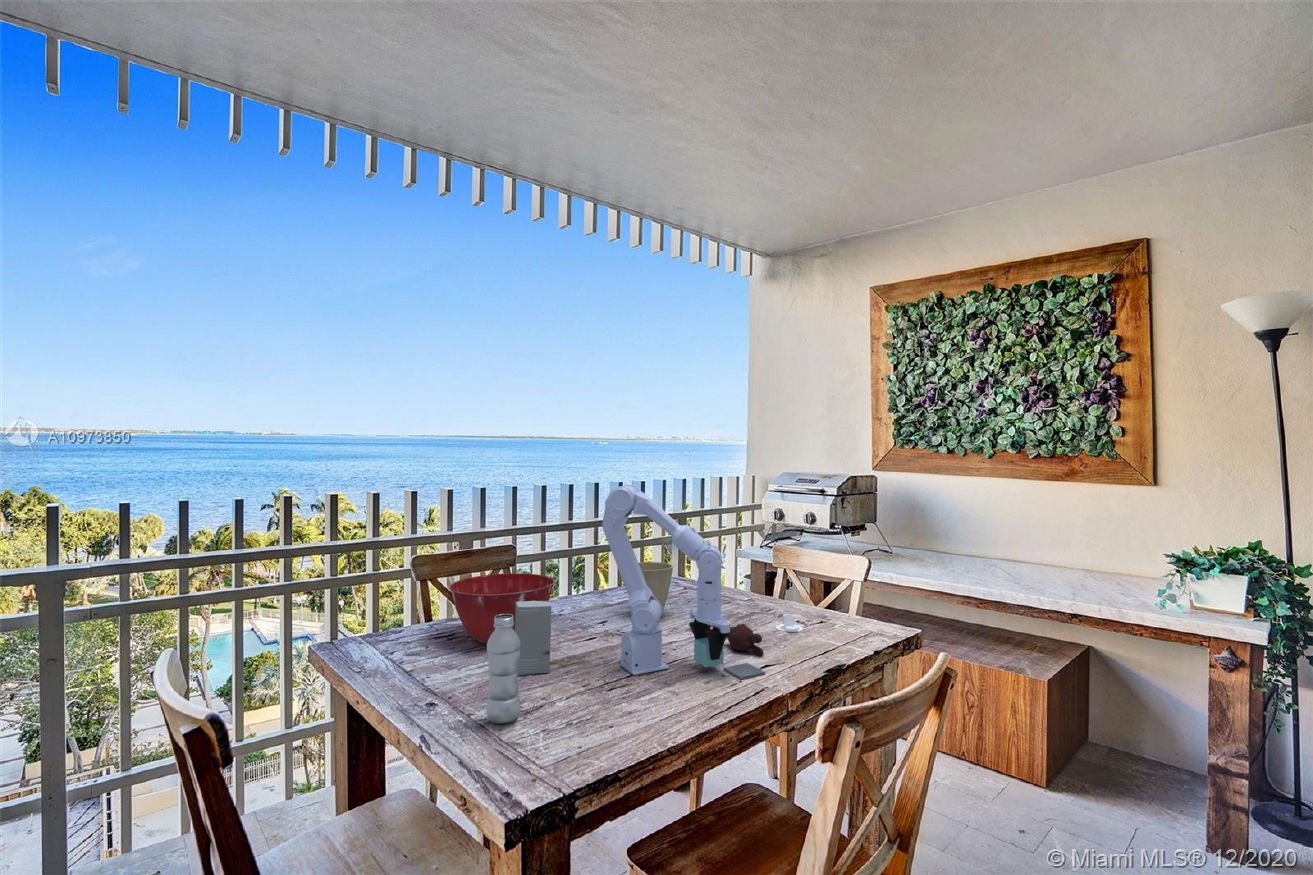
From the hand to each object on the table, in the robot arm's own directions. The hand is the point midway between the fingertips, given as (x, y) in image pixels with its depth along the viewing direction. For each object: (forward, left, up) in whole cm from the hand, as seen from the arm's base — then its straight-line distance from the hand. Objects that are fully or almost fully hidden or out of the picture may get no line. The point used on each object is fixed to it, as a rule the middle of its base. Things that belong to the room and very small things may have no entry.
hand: (708, 655), depth 145 cm
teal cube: (0, 0, -2) cm, 2 cm away
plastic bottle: (-50, -4, -4) cm, 50 cm away
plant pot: (+9, +48, -4) cm, 49 cm away
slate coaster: (+7, -5, -3) cm, 9 cm away
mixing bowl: (-37, +48, -4) cm, 61 cm away
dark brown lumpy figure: (+16, +8, -4) cm, 18 cm away
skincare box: (-37, +20, -4) cm, 42 cm away
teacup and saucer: (+37, +18, -4) cm, 41 cm away
